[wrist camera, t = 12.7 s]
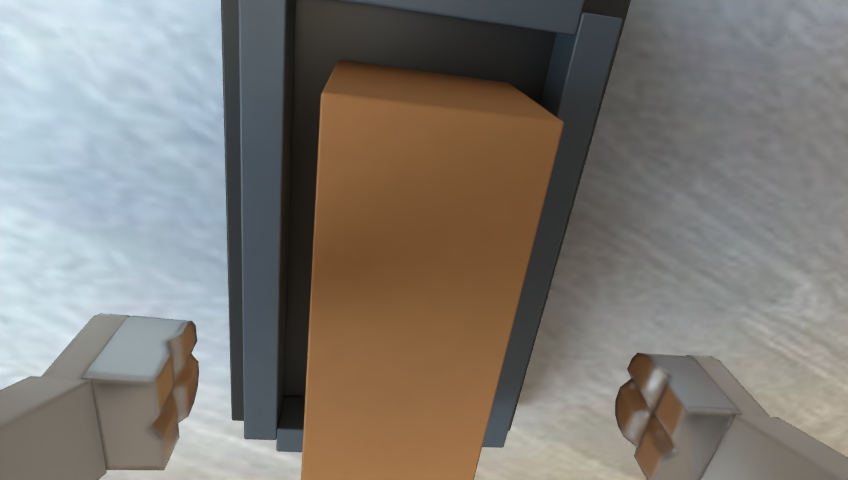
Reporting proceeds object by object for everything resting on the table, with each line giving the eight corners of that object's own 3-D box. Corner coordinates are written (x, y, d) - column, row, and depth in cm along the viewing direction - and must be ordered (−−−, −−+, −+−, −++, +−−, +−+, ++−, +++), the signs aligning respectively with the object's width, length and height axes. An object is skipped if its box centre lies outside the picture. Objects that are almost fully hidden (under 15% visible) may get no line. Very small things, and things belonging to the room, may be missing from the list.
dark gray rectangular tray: (231, -76, 13) (197, -91, 10) (615, -13, 14) (665, -13, 12) (239, 396, 19) (219, 456, 17) (503, 408, 20) (520, 464, 18)
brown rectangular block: (337, 59, 13) (321, 91, 9) (509, 82, 14) (565, 121, 10) (317, 371, 17) (300, 488, 13) (449, 378, 18) (471, 492, 14)
